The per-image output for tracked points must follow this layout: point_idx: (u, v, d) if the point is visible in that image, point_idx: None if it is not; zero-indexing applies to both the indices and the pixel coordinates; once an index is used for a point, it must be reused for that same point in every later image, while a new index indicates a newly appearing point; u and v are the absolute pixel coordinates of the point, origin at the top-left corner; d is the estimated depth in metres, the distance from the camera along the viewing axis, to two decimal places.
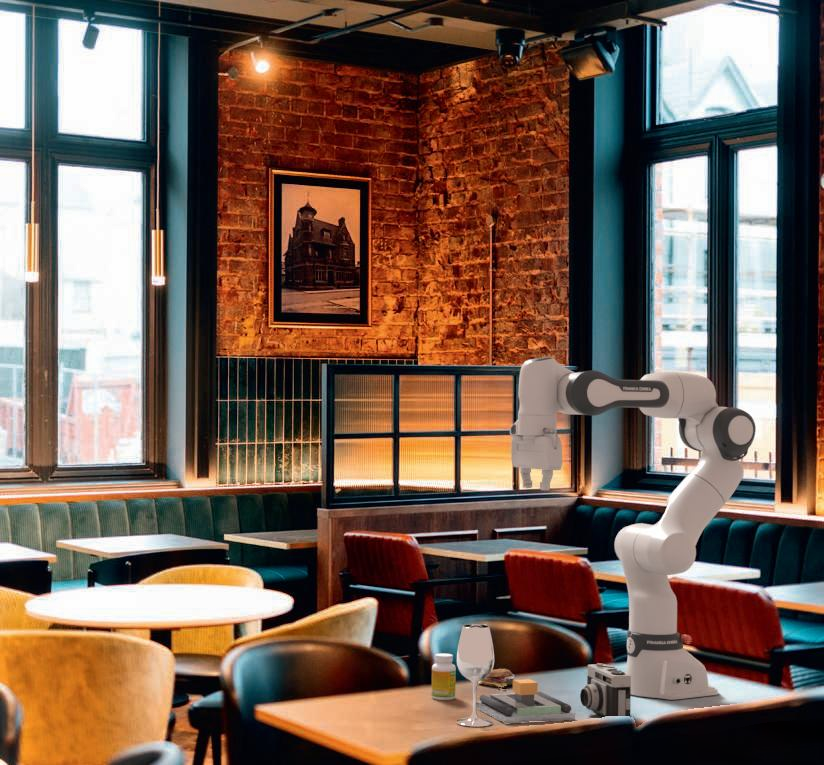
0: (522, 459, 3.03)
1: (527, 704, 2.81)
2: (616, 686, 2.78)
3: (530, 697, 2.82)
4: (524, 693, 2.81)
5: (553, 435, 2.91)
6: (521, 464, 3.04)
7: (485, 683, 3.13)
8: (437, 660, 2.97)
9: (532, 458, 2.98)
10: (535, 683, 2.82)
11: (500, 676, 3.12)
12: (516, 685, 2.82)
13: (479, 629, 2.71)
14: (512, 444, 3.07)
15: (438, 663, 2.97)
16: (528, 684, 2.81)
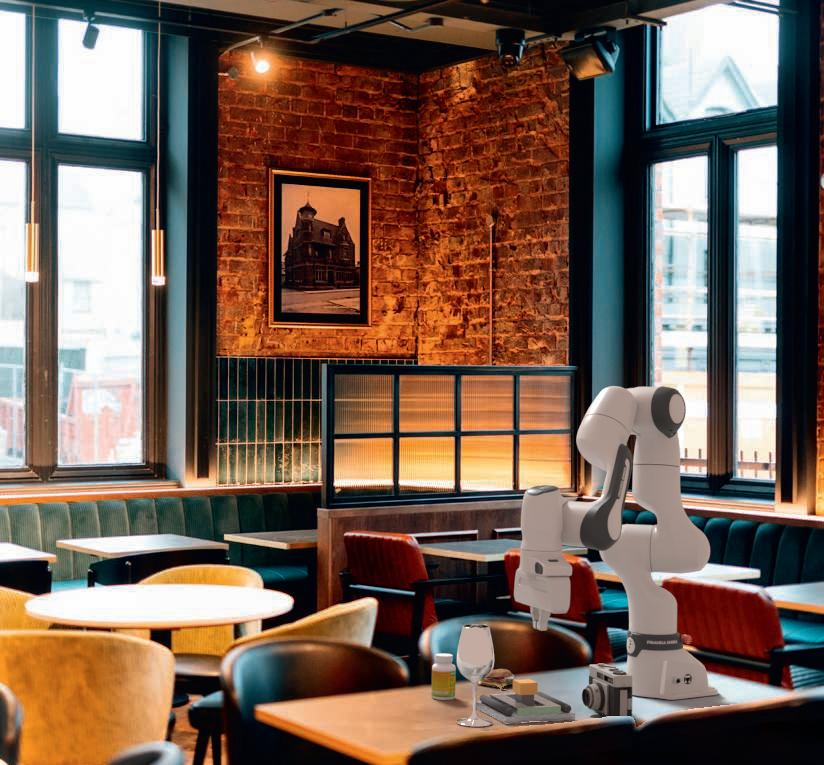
0: None
1: (527, 704, 2.81)
2: (618, 686, 2.78)
3: (530, 697, 2.82)
4: (524, 693, 2.81)
5: None
6: None
7: (485, 683, 3.12)
8: (437, 660, 2.97)
9: None
10: (535, 683, 2.82)
11: (500, 676, 3.12)
12: (516, 685, 2.82)
13: (479, 629, 2.71)
14: None
15: (438, 663, 2.97)
16: (528, 684, 2.81)
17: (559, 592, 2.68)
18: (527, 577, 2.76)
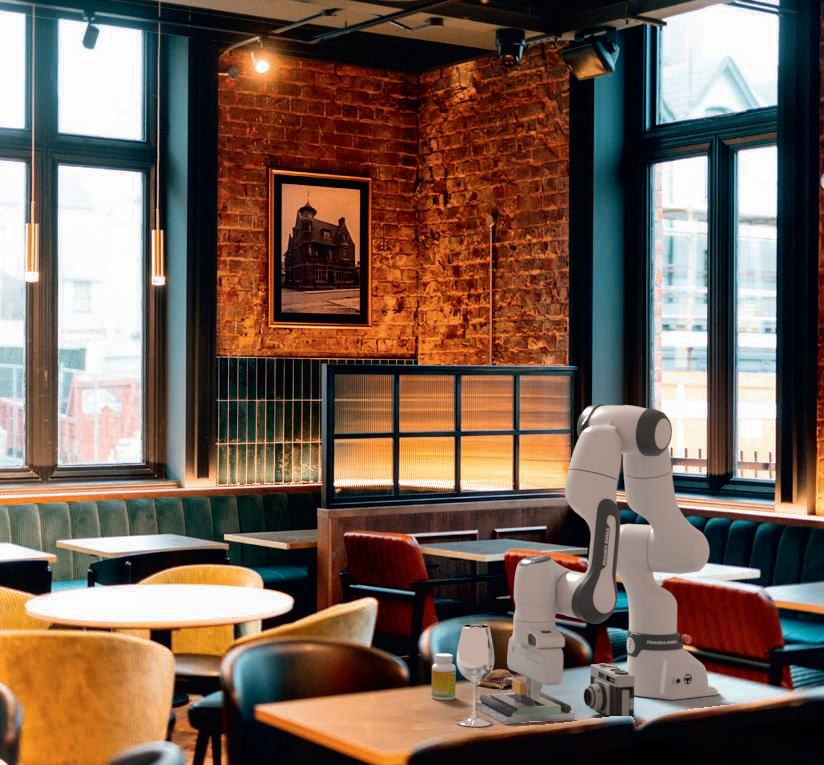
0: None
1: (526, 704, 2.82)
2: (620, 686, 2.78)
3: None
4: (523, 693, 2.81)
5: None
6: None
7: (484, 684, 3.12)
8: (437, 660, 2.97)
9: None
10: None
11: (499, 677, 3.11)
12: (515, 685, 2.83)
13: (479, 629, 2.71)
14: None
15: (438, 664, 2.97)
16: None
17: (551, 664, 2.70)
18: (520, 647, 2.79)
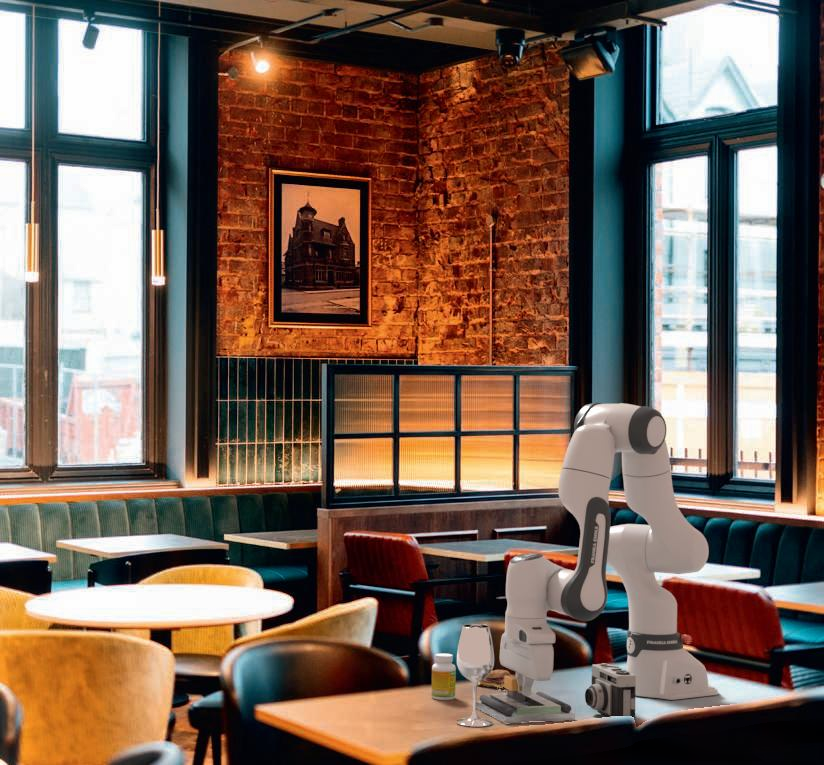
0: None
1: (518, 700, 2.86)
2: (621, 686, 2.78)
3: None
4: (515, 689, 2.85)
5: None
6: None
7: (484, 684, 3.12)
8: (437, 660, 2.97)
9: None
10: None
11: (499, 677, 3.11)
12: (507, 681, 2.87)
13: (479, 629, 2.71)
14: None
15: (438, 663, 2.97)
16: None
17: (542, 660, 2.74)
18: (512, 643, 2.82)
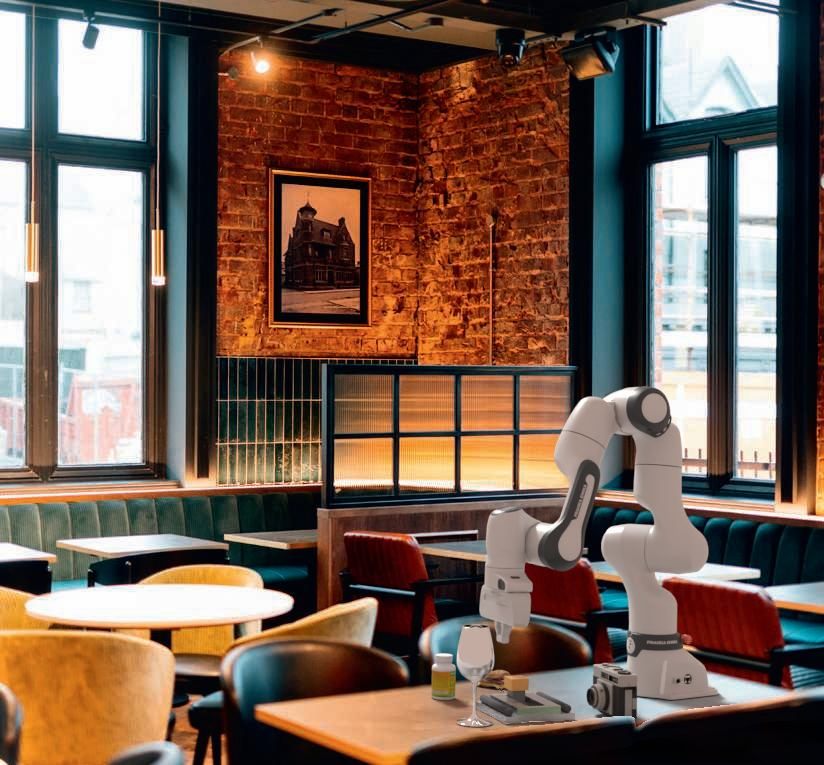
0: None
1: (518, 700, 2.86)
2: (623, 686, 2.79)
3: (521, 693, 2.86)
4: (515, 689, 2.85)
5: None
6: None
7: (484, 685, 3.11)
8: (437, 660, 2.97)
9: None
10: (526, 679, 2.86)
11: (499, 677, 3.10)
12: (507, 681, 2.87)
13: (479, 629, 2.71)
14: None
15: (438, 663, 2.97)
16: (519, 680, 2.85)
17: (519, 607, 2.85)
18: (491, 593, 2.93)
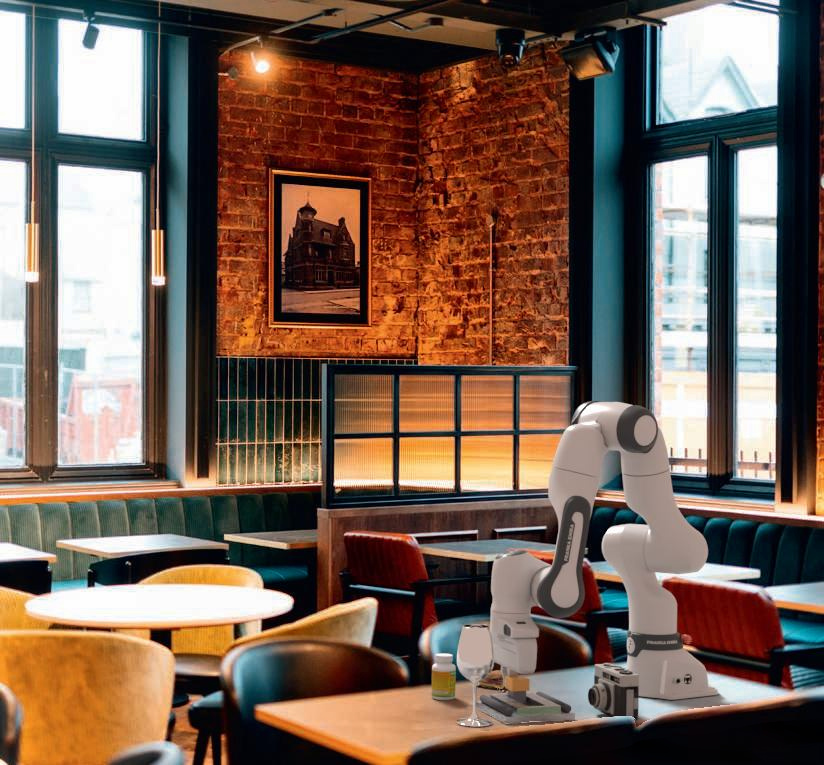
0: None
1: (519, 700, 2.85)
2: (624, 685, 2.79)
3: (522, 693, 2.86)
4: (516, 689, 2.85)
5: None
6: None
7: (483, 685, 3.11)
8: (437, 660, 2.97)
9: None
10: (527, 679, 2.86)
11: (499, 678, 3.10)
12: (508, 681, 2.86)
13: (479, 629, 2.71)
14: None
15: (438, 663, 2.97)
16: (520, 680, 2.85)
17: (525, 653, 2.82)
18: (497, 637, 2.90)
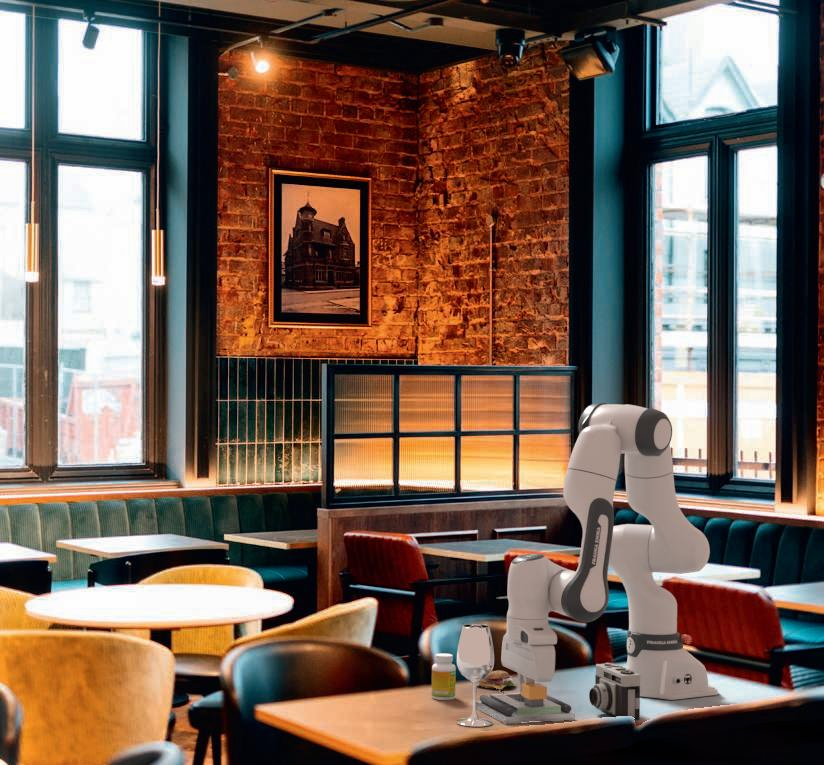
0: None
1: None
2: (626, 685, 2.79)
3: (539, 701, 2.77)
4: (533, 697, 2.76)
5: None
6: None
7: (483, 685, 3.10)
8: (437, 660, 2.97)
9: None
10: (544, 687, 2.77)
11: (498, 678, 3.09)
12: (525, 689, 2.78)
13: (479, 629, 2.71)
14: None
15: (438, 663, 2.97)
16: (537, 688, 2.77)
17: (543, 661, 2.73)
18: (513, 644, 2.81)
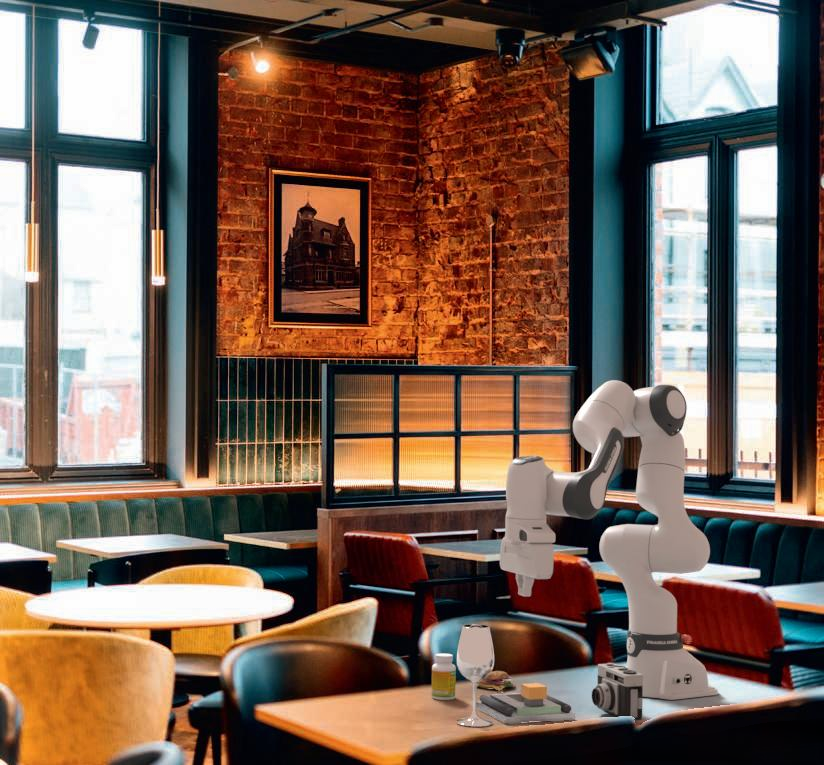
0: None
1: None
2: (628, 685, 2.79)
3: (539, 701, 2.77)
4: (533, 697, 2.76)
5: None
6: None
7: (482, 686, 3.09)
8: (437, 660, 2.97)
9: None
10: (544, 687, 2.77)
11: (498, 679, 3.09)
12: (525, 689, 2.78)
13: (479, 629, 2.71)
14: None
15: (438, 663, 2.97)
16: (537, 688, 2.77)
17: (542, 558, 2.75)
18: (512, 545, 2.84)
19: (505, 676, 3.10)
